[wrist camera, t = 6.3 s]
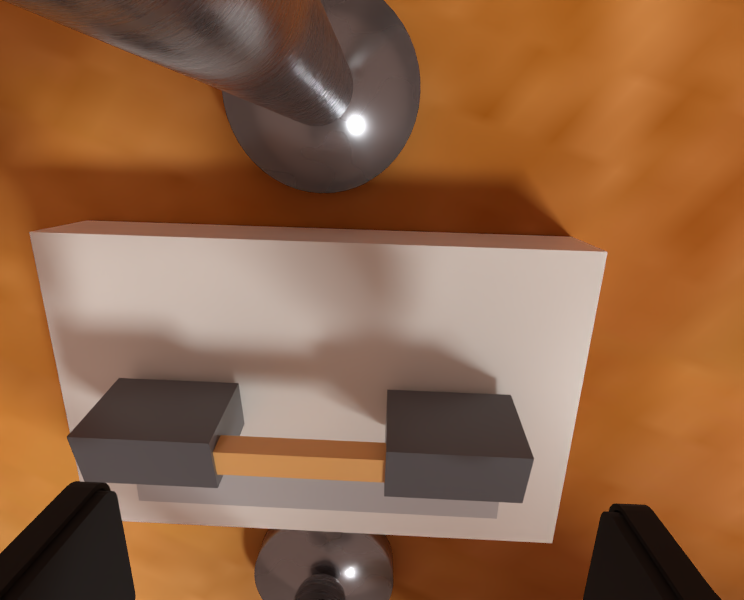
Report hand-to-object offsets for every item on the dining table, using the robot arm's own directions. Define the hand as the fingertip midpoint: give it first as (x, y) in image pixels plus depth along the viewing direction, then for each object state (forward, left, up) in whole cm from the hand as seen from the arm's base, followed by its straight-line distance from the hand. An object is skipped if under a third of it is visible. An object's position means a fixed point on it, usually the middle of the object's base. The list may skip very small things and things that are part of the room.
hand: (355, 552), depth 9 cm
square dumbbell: (0, -2, -5) cm, 5 cm away
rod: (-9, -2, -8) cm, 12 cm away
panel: (0, -2, -8) cm, 8 cm away
